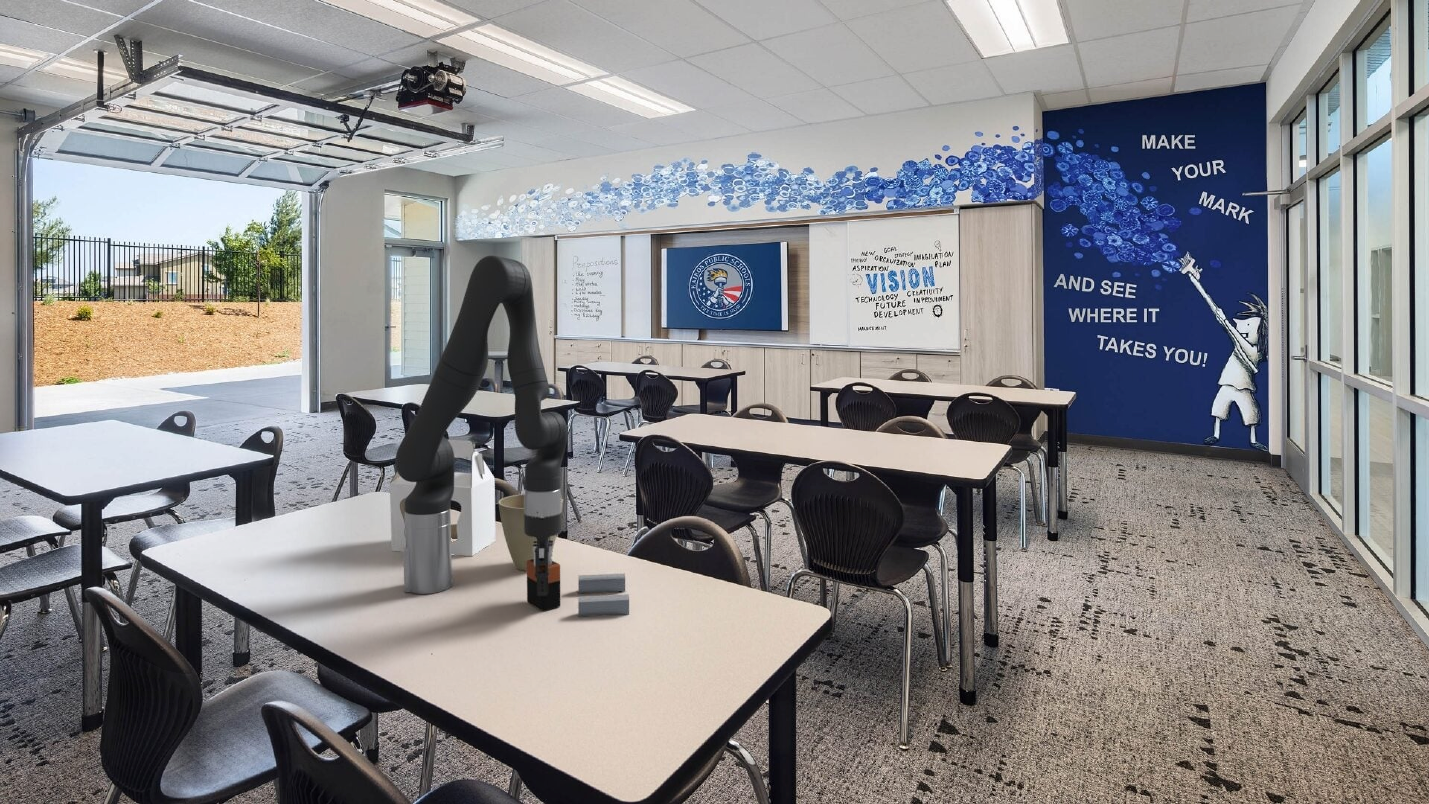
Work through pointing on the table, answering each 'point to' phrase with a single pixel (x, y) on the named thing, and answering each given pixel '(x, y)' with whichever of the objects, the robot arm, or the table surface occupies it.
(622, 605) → the housing
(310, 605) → the table surface
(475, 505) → the gable box
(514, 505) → the plant pot
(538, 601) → the battery
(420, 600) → the table surface
